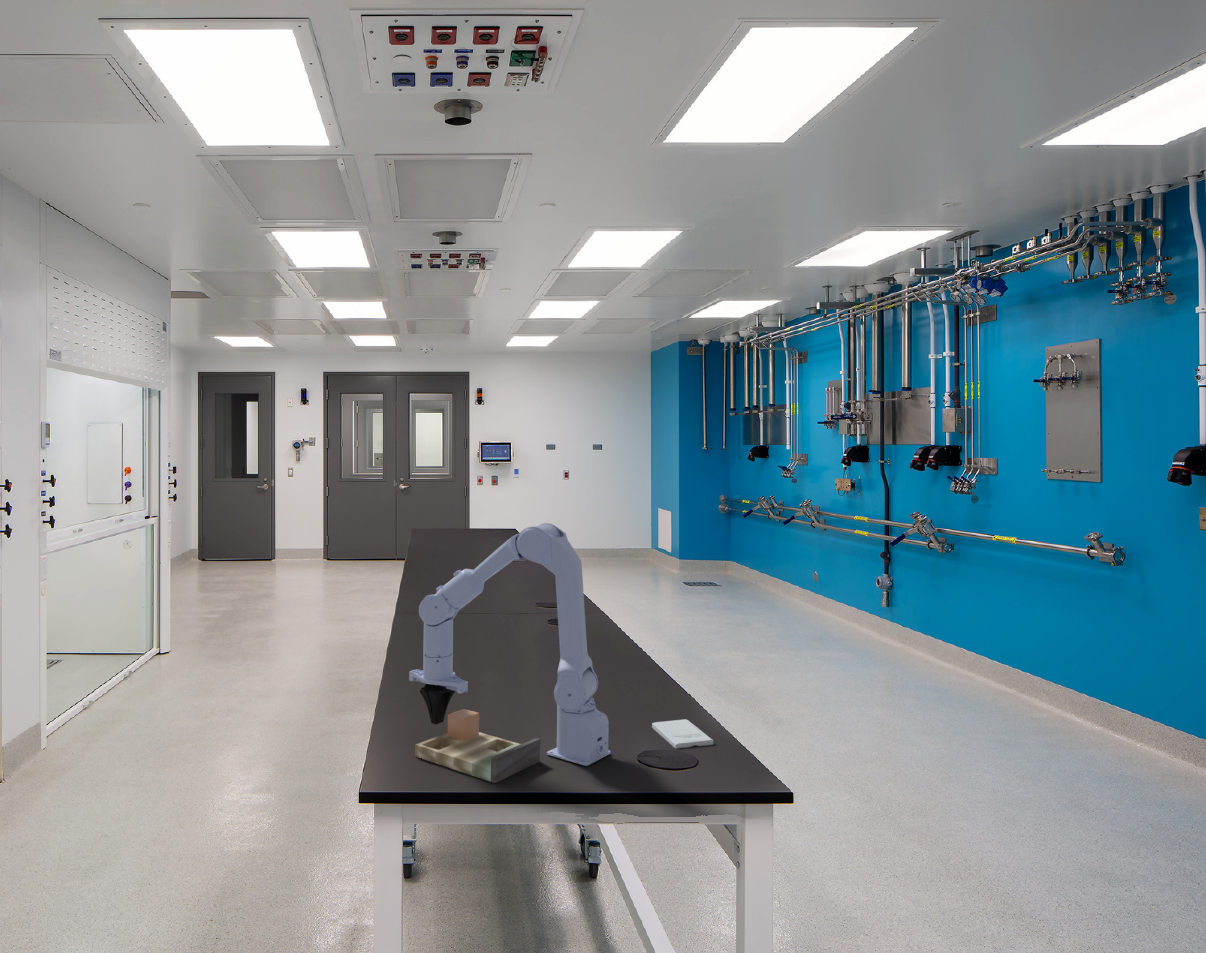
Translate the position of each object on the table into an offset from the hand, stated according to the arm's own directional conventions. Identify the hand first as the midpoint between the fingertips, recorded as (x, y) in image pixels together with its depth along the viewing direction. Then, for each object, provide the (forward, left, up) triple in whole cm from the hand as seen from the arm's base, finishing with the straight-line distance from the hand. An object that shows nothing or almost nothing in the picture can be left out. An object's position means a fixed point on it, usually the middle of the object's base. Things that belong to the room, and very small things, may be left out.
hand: (437, 722), depth 153 cm
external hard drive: (-38, -31, -4) cm, 49 cm away
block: (-7, 0, -1) cm, 7 cm away
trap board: (-14, +3, -3) cm, 14 cm away
